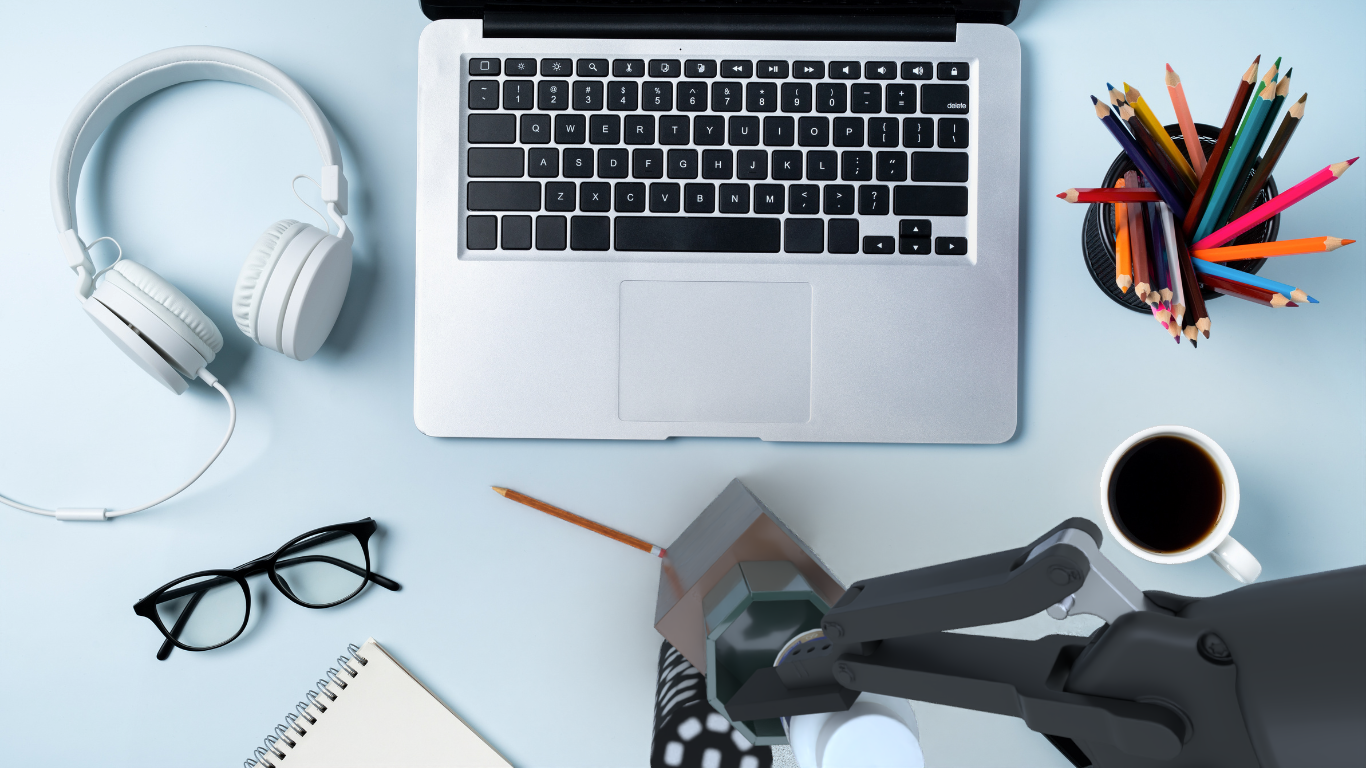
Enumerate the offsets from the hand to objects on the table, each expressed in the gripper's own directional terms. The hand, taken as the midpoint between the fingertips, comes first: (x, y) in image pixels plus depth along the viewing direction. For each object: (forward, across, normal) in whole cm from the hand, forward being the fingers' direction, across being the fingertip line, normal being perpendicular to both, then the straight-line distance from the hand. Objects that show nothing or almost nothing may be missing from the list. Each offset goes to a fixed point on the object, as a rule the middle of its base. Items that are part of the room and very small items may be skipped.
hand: (780, 755), depth 34 cm
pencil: (+34, +11, -20) cm, 41 cm away
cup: (+9, +1, -11) cm, 14 cm away
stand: (+26, +1, -28) cm, 38 cm away
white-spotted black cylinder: (+32, -6, -23) cm, 40 cm away
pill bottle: (+2, 0, -6) cm, 6 cm away
